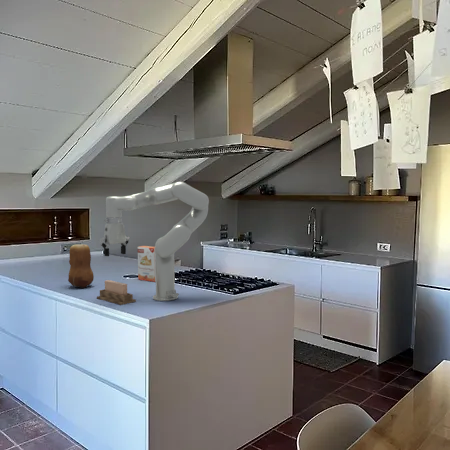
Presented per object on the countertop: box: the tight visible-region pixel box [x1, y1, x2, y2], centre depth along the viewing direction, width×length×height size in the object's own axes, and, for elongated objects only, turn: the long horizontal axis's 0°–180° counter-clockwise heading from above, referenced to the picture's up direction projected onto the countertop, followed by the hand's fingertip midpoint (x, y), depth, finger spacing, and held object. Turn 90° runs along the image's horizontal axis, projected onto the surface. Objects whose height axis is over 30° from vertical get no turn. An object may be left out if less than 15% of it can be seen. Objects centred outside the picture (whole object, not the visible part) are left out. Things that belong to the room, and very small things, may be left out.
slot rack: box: [96, 288, 137, 306], centre depth 233 cm, size 21×9×4 cm, turn 48°
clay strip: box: [104, 279, 128, 296], centre depth 233 cm, size 16×2×8 cm, turn 47°
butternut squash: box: [67, 243, 95, 289], centre depth 264 cm, size 14×13×25 cm
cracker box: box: [137, 245, 156, 283], centre depth 284 cm, size 14×6×21 cm, turn 56°
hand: (115, 255), depth 232 cm, fingers open, 9 cm apart
